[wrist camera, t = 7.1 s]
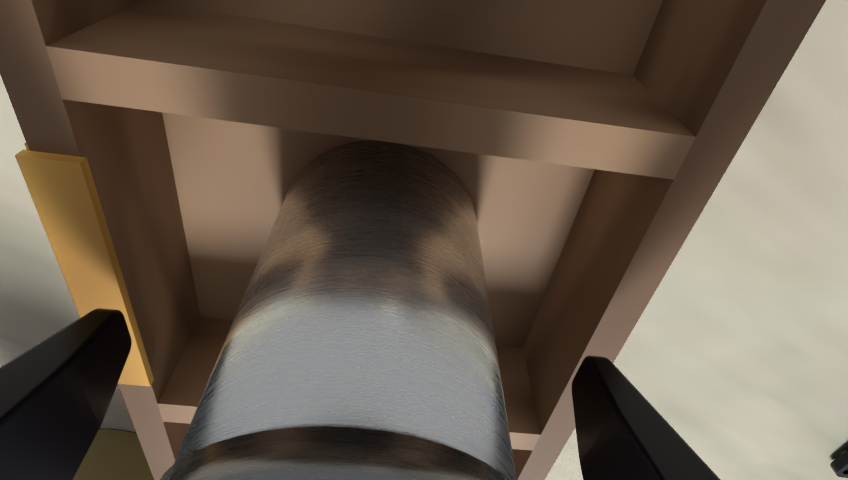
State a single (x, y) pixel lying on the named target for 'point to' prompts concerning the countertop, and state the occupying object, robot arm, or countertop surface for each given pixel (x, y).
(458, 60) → the compartment tray
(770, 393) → the countertop surface
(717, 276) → the countertop surface
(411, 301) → the spice tin
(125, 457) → the cork
